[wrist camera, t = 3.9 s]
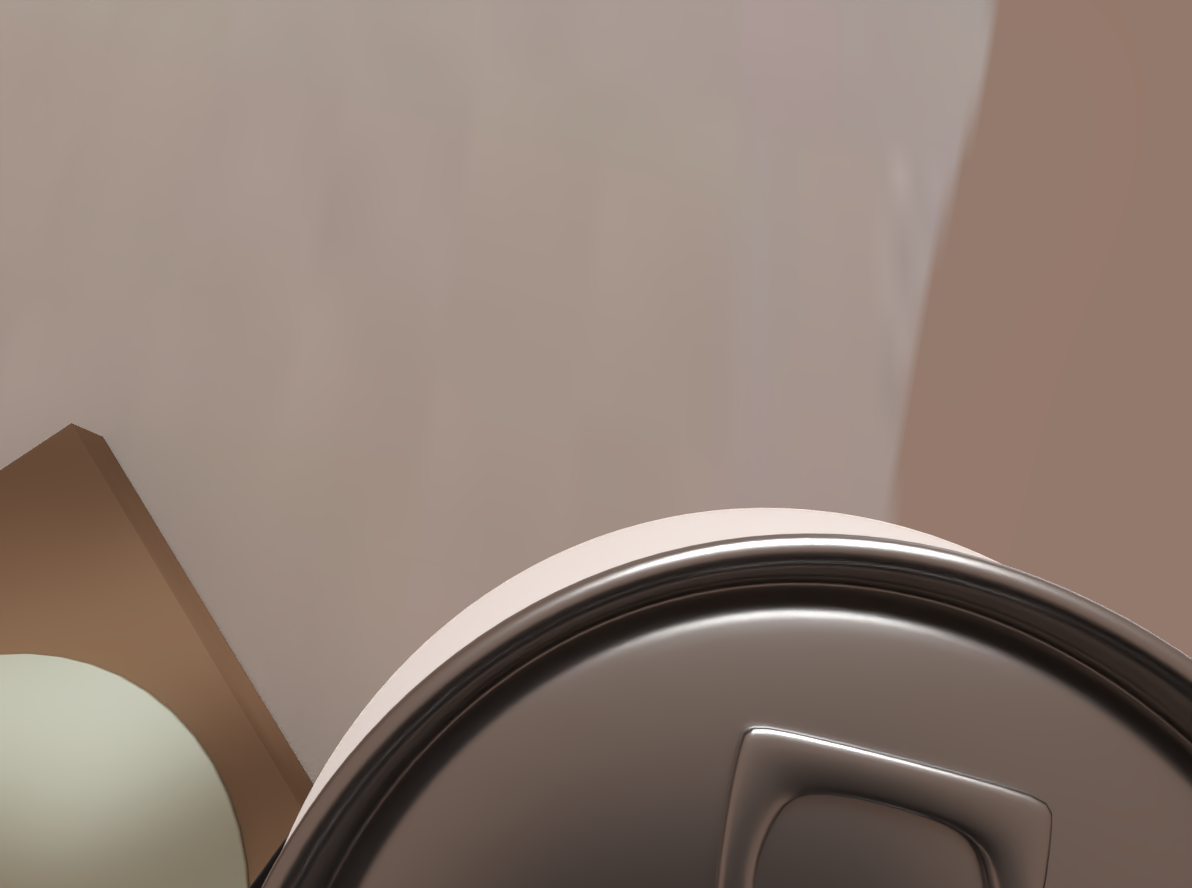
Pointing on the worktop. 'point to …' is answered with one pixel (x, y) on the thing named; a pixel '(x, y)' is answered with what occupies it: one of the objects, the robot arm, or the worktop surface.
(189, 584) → the coaster board
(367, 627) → the worktop surface
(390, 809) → the can
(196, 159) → the worktop surface
